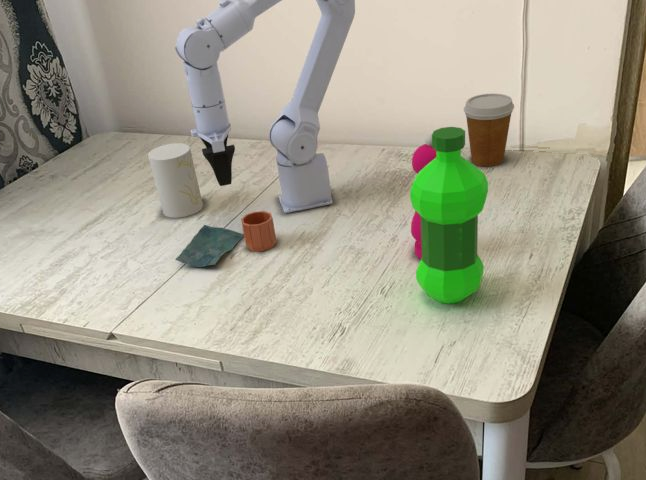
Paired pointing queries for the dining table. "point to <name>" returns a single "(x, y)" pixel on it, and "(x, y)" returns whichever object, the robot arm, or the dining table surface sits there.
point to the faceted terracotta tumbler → (259, 231)
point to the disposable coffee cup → (488, 127)
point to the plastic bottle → (449, 219)
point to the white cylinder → (175, 180)
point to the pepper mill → (418, 163)
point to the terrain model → (208, 246)
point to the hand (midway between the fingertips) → (223, 176)
